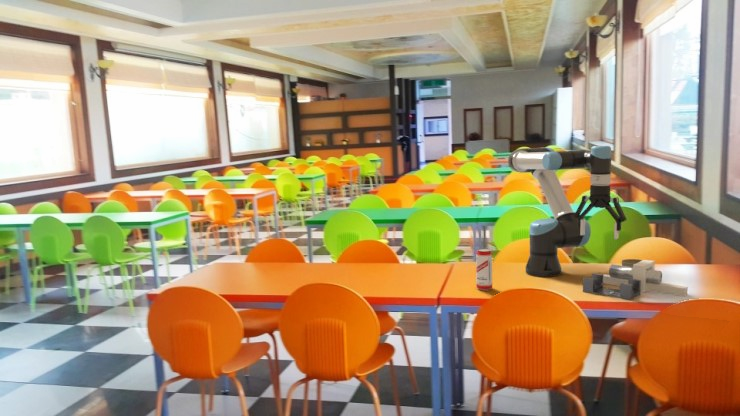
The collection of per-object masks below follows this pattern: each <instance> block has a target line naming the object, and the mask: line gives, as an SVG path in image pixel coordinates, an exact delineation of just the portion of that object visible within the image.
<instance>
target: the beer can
mask: <svg viewBox="0 0 740 416" xmlns="http://www.w3.org/2000/svg"><path fill="white" fill-rule="evenodd" d="M475 257H476V258H475V262H476V263H475V265H476V266H475V268H476V271H475V272H476V274H475V275H476V276H475V277H476V279H475V280H476V288H477V289H478V290H479V291H491V290H492V288H493V253H492V252H491V249H490V248H478V249H477V251H476V254H475Z"/></svg>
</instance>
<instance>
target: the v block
mask: <svg viewBox="0 0 740 416" xmlns="http://www.w3.org/2000/svg"><path fill="white" fill-rule="evenodd" d="M603 274H604V273H603ZM603 274H601V273H595V272H594V273H593V272H592V273H591V277H586V276H583V278H582V292H583V293H589V294H594V295H600V296H606V297H612V298H617V299H621V300H622V299H623V300H629V301H632V300H633V299H636V298H637V297H638V296H640V295H641V292H640V291H641V280H636V279H628V284H625V283H620V286H619V289H617V288H611V287H605V286H604V283H603Z"/></svg>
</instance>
